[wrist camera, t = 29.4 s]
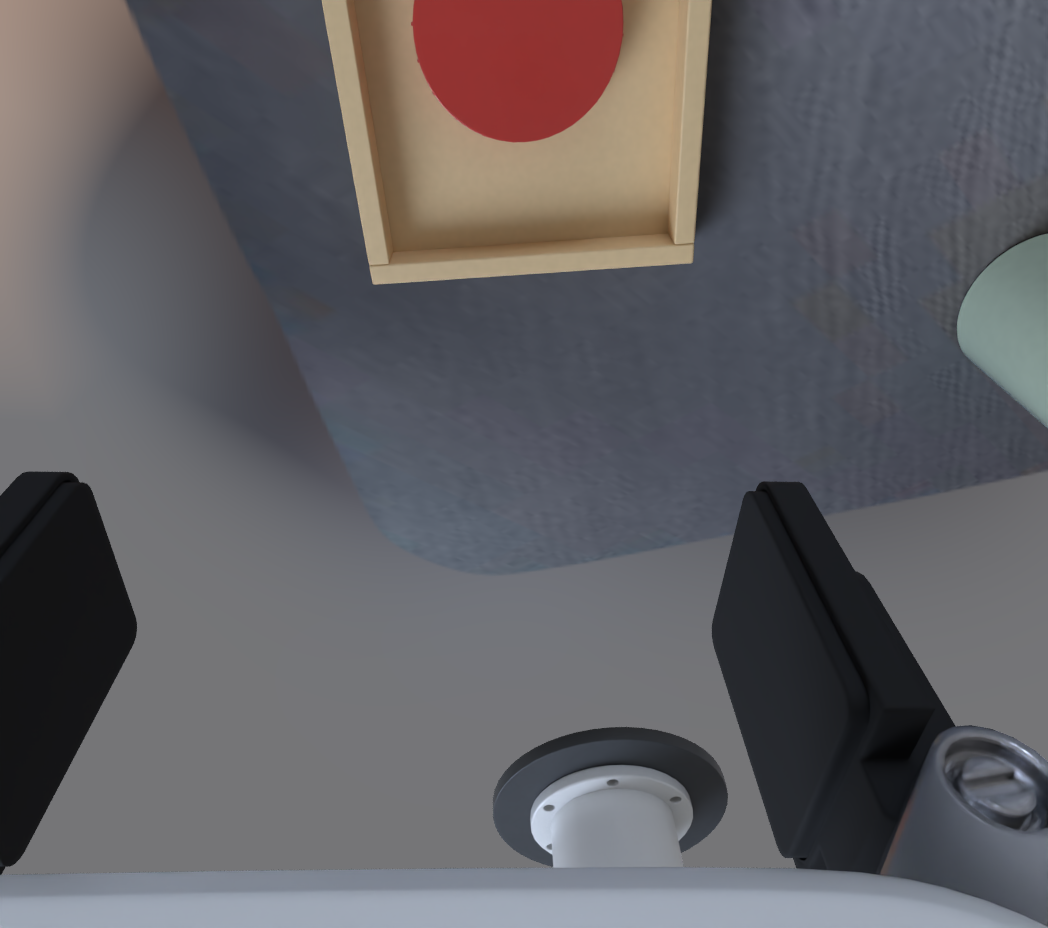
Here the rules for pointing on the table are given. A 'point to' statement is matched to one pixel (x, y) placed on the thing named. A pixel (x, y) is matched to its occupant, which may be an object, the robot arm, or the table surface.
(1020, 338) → the jam jar
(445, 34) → the jar lid
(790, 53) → the table surface
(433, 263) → the tray
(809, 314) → the table surface
